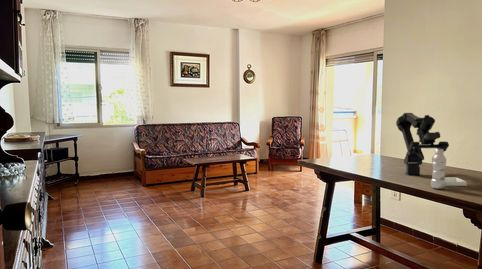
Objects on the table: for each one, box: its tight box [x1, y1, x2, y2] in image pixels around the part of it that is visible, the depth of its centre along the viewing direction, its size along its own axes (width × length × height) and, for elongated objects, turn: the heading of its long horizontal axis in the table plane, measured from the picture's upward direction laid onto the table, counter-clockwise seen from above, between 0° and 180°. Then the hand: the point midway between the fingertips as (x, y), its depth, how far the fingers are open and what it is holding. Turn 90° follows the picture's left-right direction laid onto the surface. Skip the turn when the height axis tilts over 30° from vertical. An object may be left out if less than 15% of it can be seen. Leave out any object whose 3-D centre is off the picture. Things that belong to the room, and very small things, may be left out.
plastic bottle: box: [430, 148, 447, 190], centre depth 174 cm, size 6×7×20 cm
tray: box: [445, 176, 468, 188], centre depth 183 cm, size 12×11×2 cm
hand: (432, 159), depth 181 cm, fingers open, 9 cm apart
